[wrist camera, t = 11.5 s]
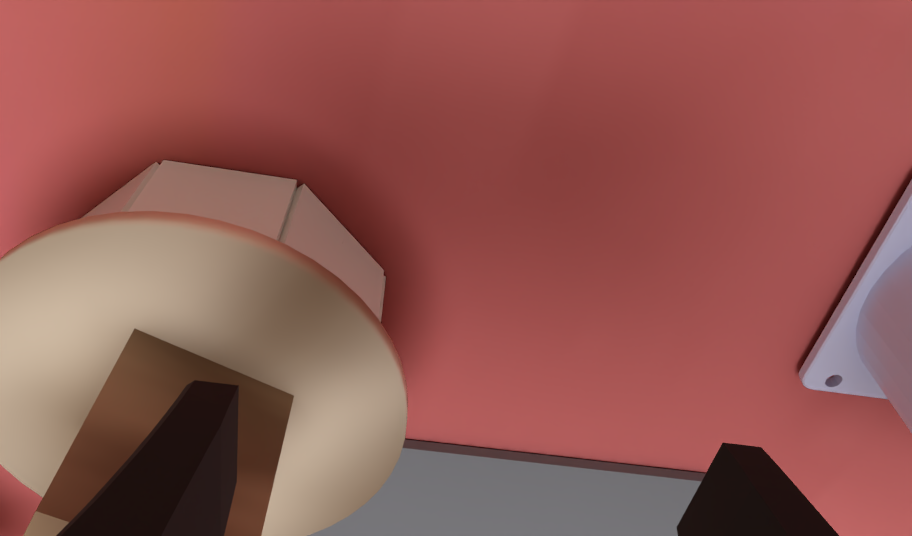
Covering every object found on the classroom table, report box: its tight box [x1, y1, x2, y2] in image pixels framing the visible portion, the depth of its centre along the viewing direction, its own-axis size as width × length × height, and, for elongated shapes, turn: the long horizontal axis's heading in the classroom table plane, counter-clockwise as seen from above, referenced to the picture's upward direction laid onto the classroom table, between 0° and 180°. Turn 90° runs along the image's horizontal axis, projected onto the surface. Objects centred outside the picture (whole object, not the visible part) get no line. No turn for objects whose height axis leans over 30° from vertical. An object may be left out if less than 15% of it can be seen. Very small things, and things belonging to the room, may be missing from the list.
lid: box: [0, 211, 408, 536], centre depth 17 cm, size 11×11×6 cm
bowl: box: [82, 160, 386, 322], centre depth 21 cm, size 9×9×4 cm
